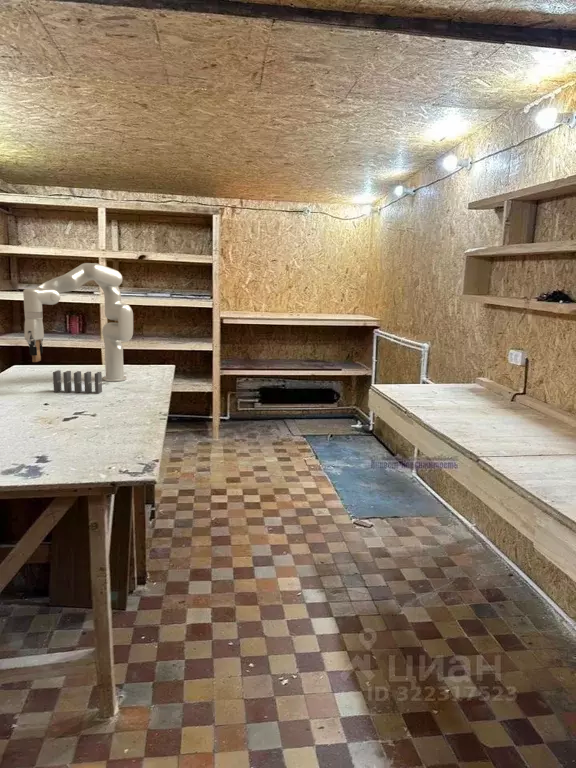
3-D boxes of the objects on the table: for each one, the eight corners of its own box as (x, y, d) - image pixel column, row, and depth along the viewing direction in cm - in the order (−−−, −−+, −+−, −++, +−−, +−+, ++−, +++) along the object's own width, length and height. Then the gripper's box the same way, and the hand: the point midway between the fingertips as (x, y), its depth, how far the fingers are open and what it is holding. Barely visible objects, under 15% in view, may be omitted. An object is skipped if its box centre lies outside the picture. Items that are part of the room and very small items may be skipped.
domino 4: (74, 393, 249) (73, 372, 247) (78, 390, 254) (77, 371, 252) (77, 393, 249) (77, 373, 247) (81, 391, 254) (81, 371, 252)
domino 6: (95, 393, 249) (94, 373, 247) (98, 391, 254) (98, 371, 252) (98, 393, 249) (97, 373, 247) (102, 391, 254) (101, 372, 252)
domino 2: (53, 392, 249) (52, 372, 247) (58, 390, 254) (57, 370, 252) (57, 392, 249) (56, 372, 247) (61, 390, 254) (60, 370, 252)
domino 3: (64, 392, 249) (63, 372, 247) (68, 390, 254) (67, 370, 252) (67, 392, 249) (66, 372, 247) (71, 390, 254) (70, 370, 252)
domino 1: (32, 362, 240) (31, 340, 238) (37, 360, 245) (36, 339, 242) (35, 362, 240) (34, 340, 238) (40, 360, 245) (39, 339, 243)
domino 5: (84, 393, 249) (84, 373, 247) (88, 391, 254) (87, 371, 252) (88, 393, 249) (87, 373, 247) (92, 391, 254) (91, 371, 252)
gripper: (34, 314, 246) (36, 351, 250) (16, 316, 229) (19, 356, 233) (50, 314, 246) (52, 352, 250) (33, 317, 229) (35, 357, 233)
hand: (36, 353), depth 241 cm, fingers closed on domino 1, 4 cm apart
